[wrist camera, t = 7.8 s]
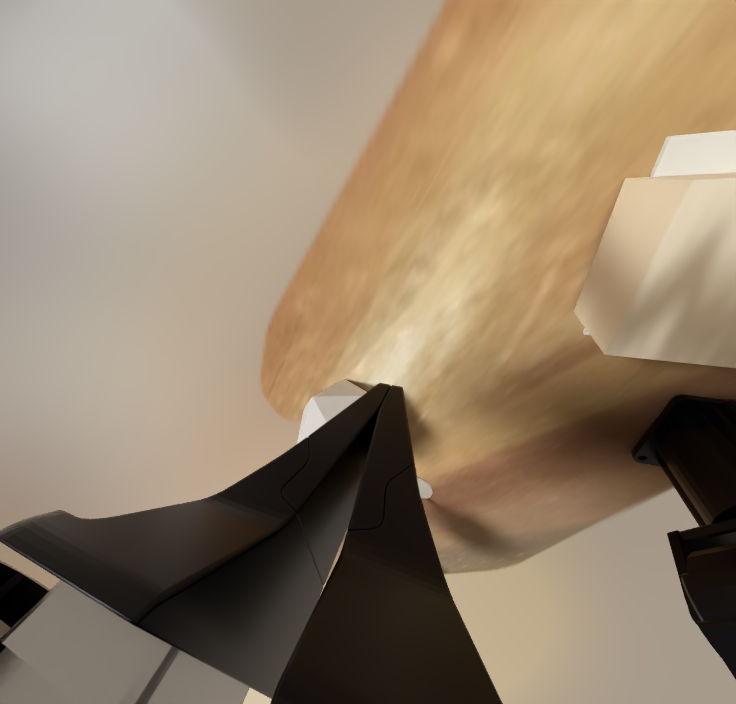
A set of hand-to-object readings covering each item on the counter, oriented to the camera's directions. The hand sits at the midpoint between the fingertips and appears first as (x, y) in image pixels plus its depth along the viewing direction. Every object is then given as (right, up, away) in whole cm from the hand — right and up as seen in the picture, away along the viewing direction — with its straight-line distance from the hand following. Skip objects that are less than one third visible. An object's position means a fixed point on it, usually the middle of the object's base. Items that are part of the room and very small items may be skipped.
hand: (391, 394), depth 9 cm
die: (-2, -3, +18) cm, 19 cm away
